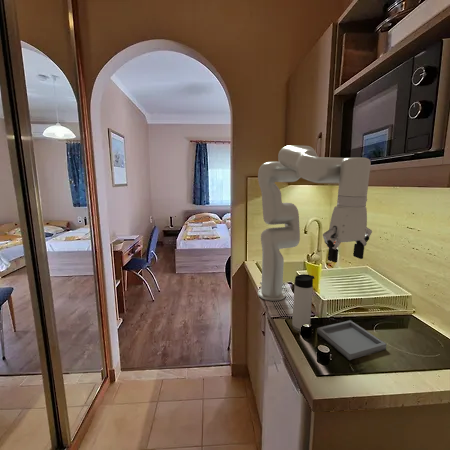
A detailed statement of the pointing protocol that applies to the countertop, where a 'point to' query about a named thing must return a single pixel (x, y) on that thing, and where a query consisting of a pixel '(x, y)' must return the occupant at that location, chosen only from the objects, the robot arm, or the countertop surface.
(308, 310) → the travel mug
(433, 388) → the countertop surface
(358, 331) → the tray
